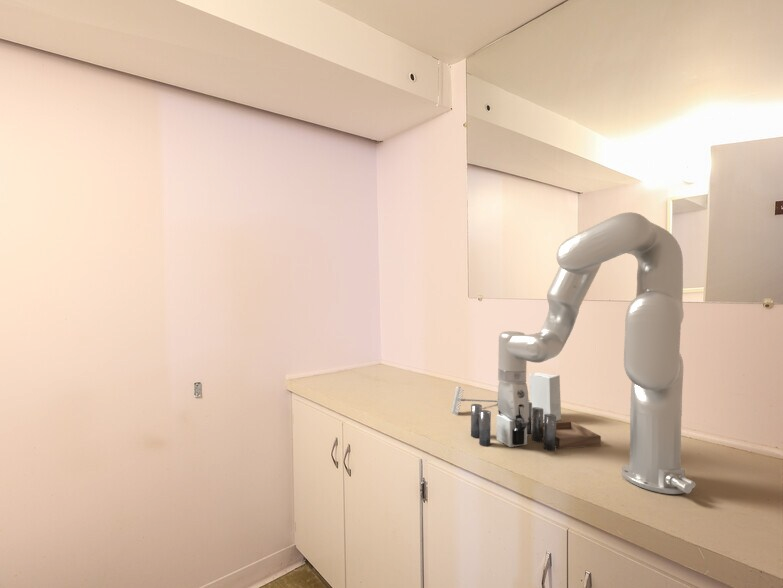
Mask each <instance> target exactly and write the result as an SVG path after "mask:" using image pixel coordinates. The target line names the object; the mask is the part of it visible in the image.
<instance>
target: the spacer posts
mask: <svg viewBox="0 0 783 588" xmlns="http://www.w3.org/2000/svg"><path fill="white" fill-rule="evenodd" d="M482 407H483V406H482V405H481V404H479V403H472V404H471V405H470V437H471V438H474V439H479V441H478V444H479V445H480V446H482V447H490V446H491V429H492V426H491V425H492V424H491V422H492V420H491V417H492V416H491V415H492V412H491V411H490V410H485V409H483V408H482ZM528 420H529V422H528V424H527V436H528V435H531V441H532V442H535V443H543V449H544V450H546V451H549V452H555V451H556V450H557V447H556V422H557V421H556V415H553V414H544V421H543V409H542V408H539V407H533V408H532V403H531V402H530V401H529V418H528ZM543 423H544V438H543ZM489 445H490V446H489Z"/></svg>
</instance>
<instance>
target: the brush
mask: <svg viewBox="0 0 783 588" xmlns="http://www.w3.org/2000/svg"><path fill="white" fill-rule="evenodd" d="M454 391H455V392H454V397H453V401H452V405H451V409H450V413H451V414H453V415H454V416H458V415H459V413H460V409H461V406H462V405H461V404H462V402H465V401H466V402H486V403H487V402H488V403H490V402H491V403H498V399H495V400H494V399H478V398H477V399H475V398H463V396H464V391H465V390H464V389H462V388H461V386H459V385H458V386H457V385H456V387H455V390H454Z"/></svg>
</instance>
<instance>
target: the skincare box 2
mask: <svg viewBox="0 0 783 588" xmlns="http://www.w3.org/2000/svg"><path fill="white" fill-rule="evenodd" d="M560 378H561V377H560V374H559V375H558V374H553V373H546V372H542V371H538V372H533V373H529V375H528V384H529V402H531V403H532V408H533V407H539V408H542V409H543V422H544V414H553V415H556V422H561V420H562V411H561V410H562V407H561V406H562V405H561V380H560Z"/></svg>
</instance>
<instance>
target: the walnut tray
mask: <svg viewBox="0 0 783 588" xmlns="http://www.w3.org/2000/svg"><path fill="white" fill-rule="evenodd" d="M601 437H602V436H601V434H597V433H596V432H595V431H592V430H590V429H588V428H586V427H585V426H582V425H580V424H578V423H576V422H574V421H572V420H566V421H556V448H558V449H571V448H584V447H587V448H588V447H597V446H600V447H601V442H602V439H601ZM543 439H544V422H543Z"/></svg>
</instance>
